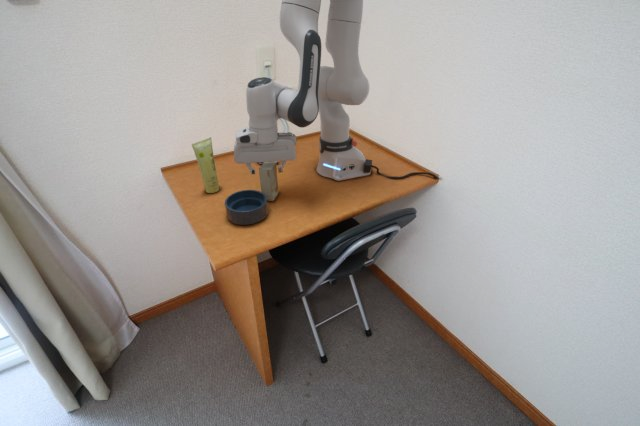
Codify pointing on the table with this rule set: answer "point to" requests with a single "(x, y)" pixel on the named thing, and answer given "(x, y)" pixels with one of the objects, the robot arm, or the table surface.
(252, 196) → the bowl
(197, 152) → the tube
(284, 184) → the table surface
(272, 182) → the cosmetic box
